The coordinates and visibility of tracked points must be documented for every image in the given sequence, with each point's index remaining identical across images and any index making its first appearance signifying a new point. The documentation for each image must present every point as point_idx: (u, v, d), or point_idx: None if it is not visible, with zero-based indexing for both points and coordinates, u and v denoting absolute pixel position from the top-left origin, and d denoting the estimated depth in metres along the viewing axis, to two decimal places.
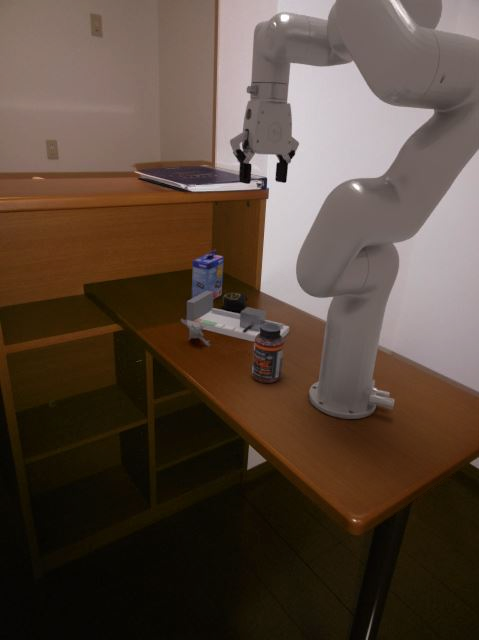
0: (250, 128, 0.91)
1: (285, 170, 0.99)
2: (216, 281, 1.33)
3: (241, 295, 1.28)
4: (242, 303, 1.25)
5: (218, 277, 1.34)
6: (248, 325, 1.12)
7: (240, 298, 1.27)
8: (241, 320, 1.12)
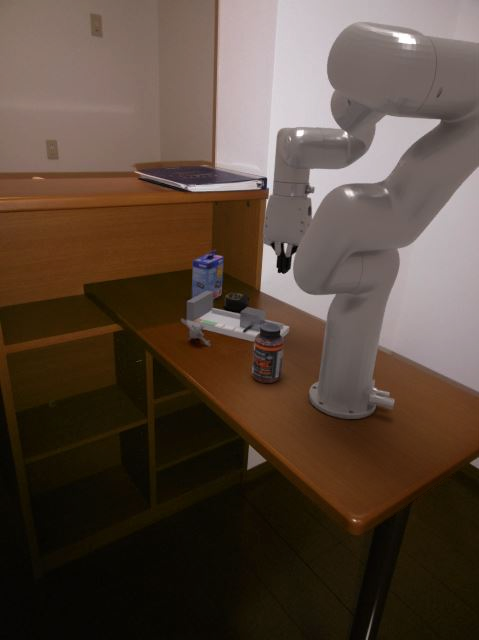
0: (311, 222, 0.99)
1: None
2: (216, 281, 1.33)
3: (243, 296, 1.28)
4: (244, 303, 1.25)
5: (218, 277, 1.34)
6: (248, 325, 1.12)
7: (242, 298, 1.27)
8: (241, 320, 1.12)
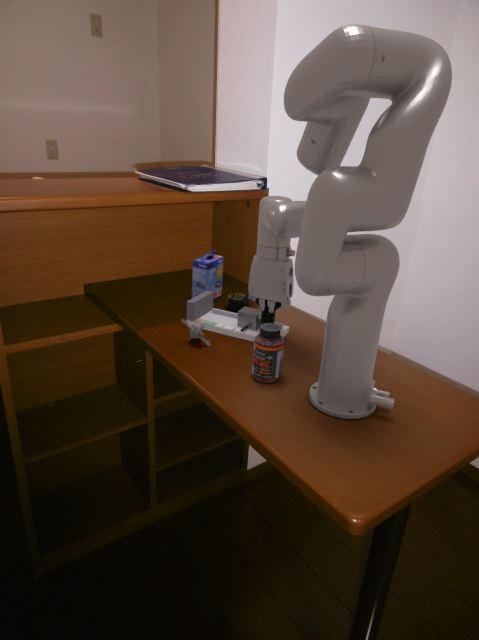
0: (292, 281, 1.06)
1: None
2: (216, 281, 1.33)
3: (245, 296, 1.28)
4: (246, 303, 1.25)
5: (218, 277, 1.34)
6: (245, 324, 1.12)
7: (244, 298, 1.26)
8: (238, 319, 1.12)
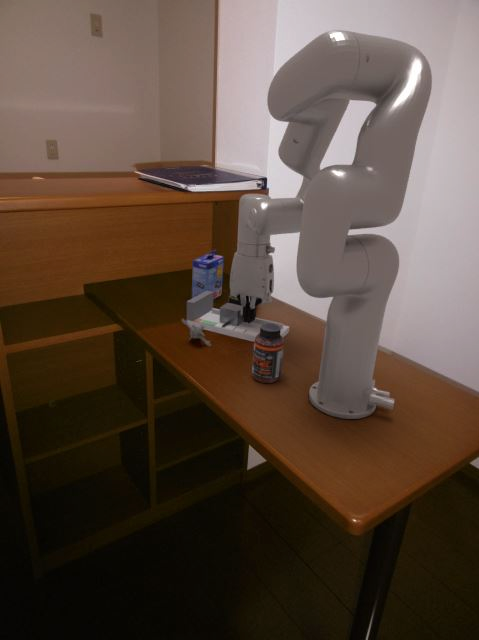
0: (272, 277, 1.08)
1: None
2: (216, 281, 1.33)
3: None
4: None
5: (218, 277, 1.34)
6: (227, 320, 1.14)
7: None
8: (221, 315, 1.14)
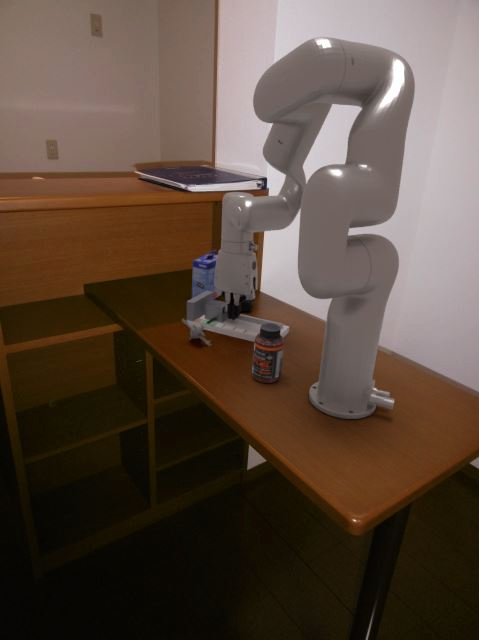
0: (256, 274, 1.10)
1: None
2: None
3: None
4: (249, 304, 1.25)
5: None
6: (212, 317, 1.15)
7: None
8: (206, 312, 1.16)
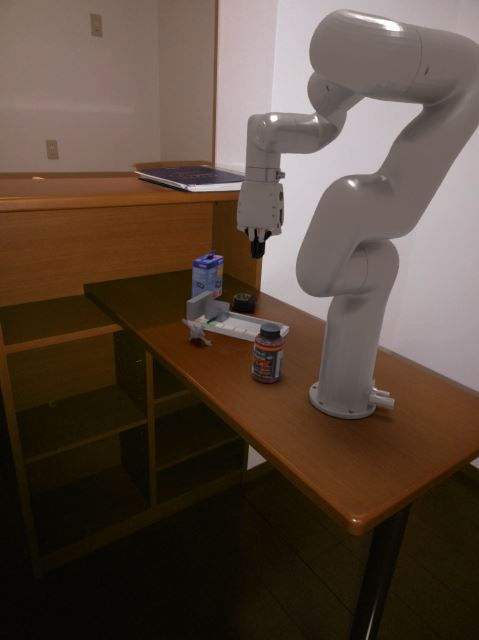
0: (283, 207, 1.01)
1: None
2: (216, 281, 1.33)
3: (251, 296, 1.28)
4: (252, 304, 1.25)
5: (218, 277, 1.34)
6: (212, 317, 1.15)
7: (250, 299, 1.26)
8: (205, 312, 1.16)
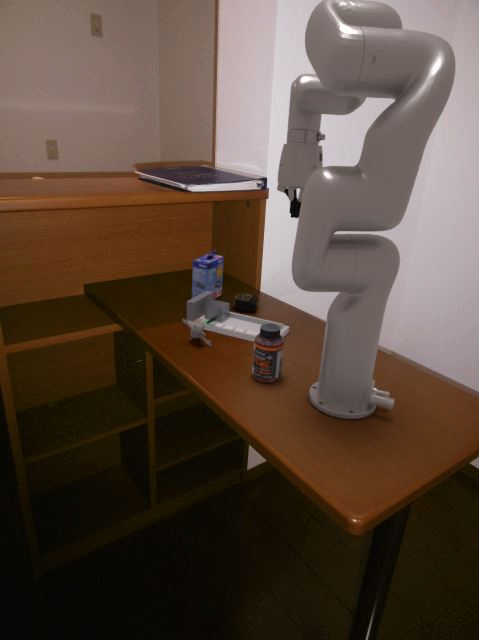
0: None
1: None
2: (216, 281, 1.33)
3: (252, 296, 1.28)
4: (254, 304, 1.25)
5: (218, 277, 1.34)
6: (212, 317, 1.15)
7: (251, 299, 1.26)
8: (205, 312, 1.16)
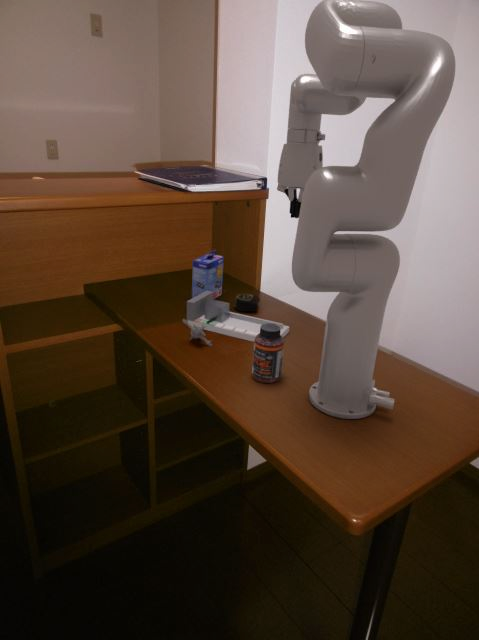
0: None
1: None
2: (216, 281, 1.33)
3: (254, 296, 1.28)
4: (255, 304, 1.25)
5: (218, 277, 1.34)
6: (212, 317, 1.15)
7: (253, 299, 1.26)
8: (205, 312, 1.16)
